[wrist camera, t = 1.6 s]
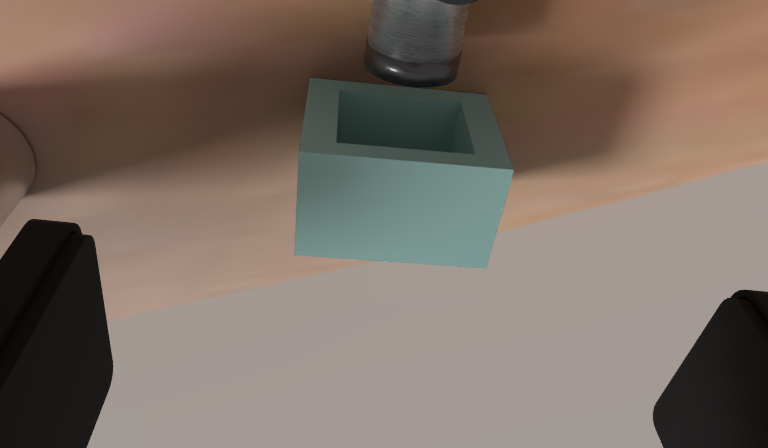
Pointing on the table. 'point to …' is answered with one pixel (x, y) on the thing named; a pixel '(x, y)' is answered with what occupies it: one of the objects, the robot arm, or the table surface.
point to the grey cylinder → (13, 167)
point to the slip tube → (416, 40)
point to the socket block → (399, 175)
